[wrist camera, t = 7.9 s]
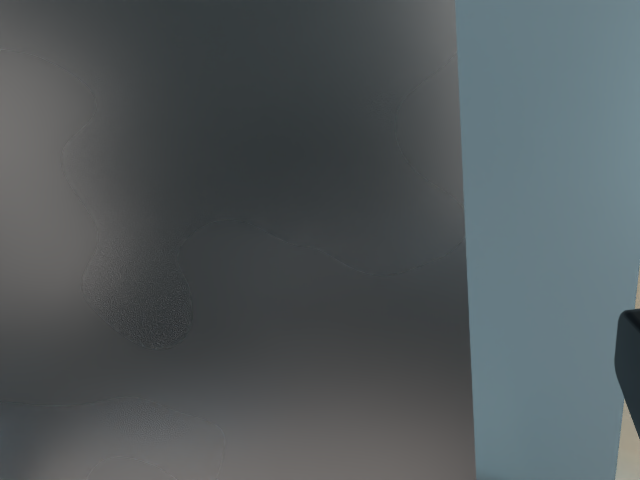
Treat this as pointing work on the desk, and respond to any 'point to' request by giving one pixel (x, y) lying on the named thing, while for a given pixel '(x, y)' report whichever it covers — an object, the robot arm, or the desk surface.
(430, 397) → the drive
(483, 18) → the pin cradle
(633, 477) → the desk surface
